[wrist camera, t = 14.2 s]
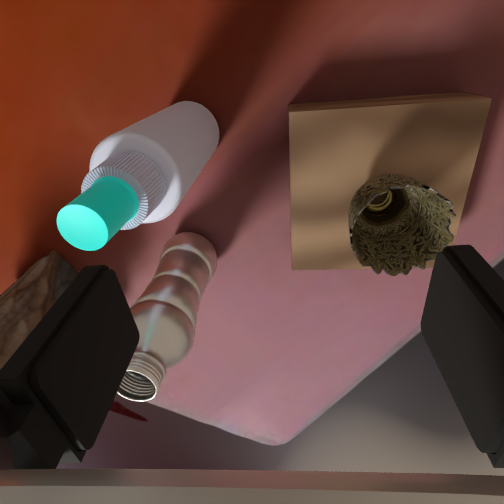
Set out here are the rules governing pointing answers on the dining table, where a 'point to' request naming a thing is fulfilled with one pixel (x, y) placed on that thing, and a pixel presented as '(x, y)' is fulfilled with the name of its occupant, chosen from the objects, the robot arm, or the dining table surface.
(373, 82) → the dining table surface
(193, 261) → the plastic bottle
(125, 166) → the spray bottle
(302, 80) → the dining table surface
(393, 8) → the dining table surface
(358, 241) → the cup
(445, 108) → the walnut plinth
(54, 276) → the brown rock
